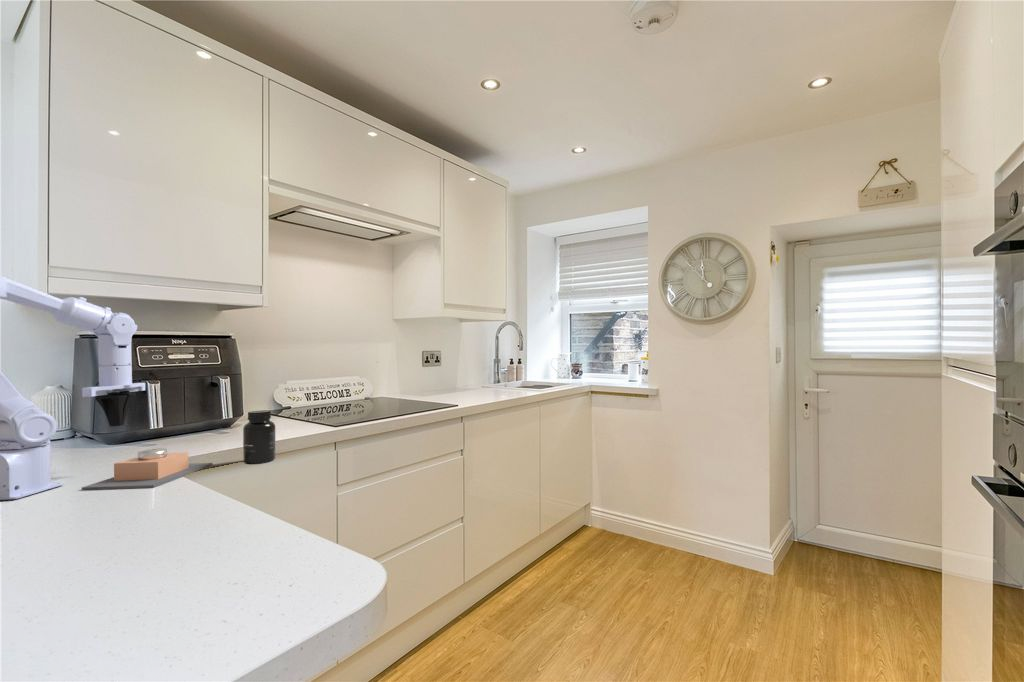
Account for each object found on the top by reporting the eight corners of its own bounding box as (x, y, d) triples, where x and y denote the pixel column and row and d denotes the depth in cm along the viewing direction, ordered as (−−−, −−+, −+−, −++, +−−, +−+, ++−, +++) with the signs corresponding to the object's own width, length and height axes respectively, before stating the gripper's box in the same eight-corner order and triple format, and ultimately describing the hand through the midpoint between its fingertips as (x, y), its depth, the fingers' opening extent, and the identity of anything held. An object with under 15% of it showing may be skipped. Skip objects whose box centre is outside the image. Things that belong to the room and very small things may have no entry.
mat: (153, 487, 90) (153, 485, 90) (81, 490, 90) (81, 487, 90) (212, 464, 108) (212, 462, 108) (152, 466, 108) (152, 464, 108)
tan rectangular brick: (158, 479, 95) (158, 462, 95) (114, 480, 95) (113, 463, 95) (188, 468, 104) (188, 452, 104) (148, 469, 104) (148, 453, 104)
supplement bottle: (239, 466, 106) (238, 414, 106) (247, 459, 113) (247, 410, 113) (272, 463, 108) (271, 412, 108) (278, 457, 115) (277, 408, 115)
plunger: (155, 475, 97) (155, 452, 97) (131, 476, 97) (131, 453, 97) (173, 469, 102) (172, 447, 102) (150, 469, 102) (150, 448, 102)
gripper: (105, 366, 97) (106, 430, 97) (157, 364, 112) (158, 420, 112) (71, 367, 97) (72, 432, 97) (128, 365, 112) (129, 421, 112)
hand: (116, 425), depth 104 cm, fingers closed
